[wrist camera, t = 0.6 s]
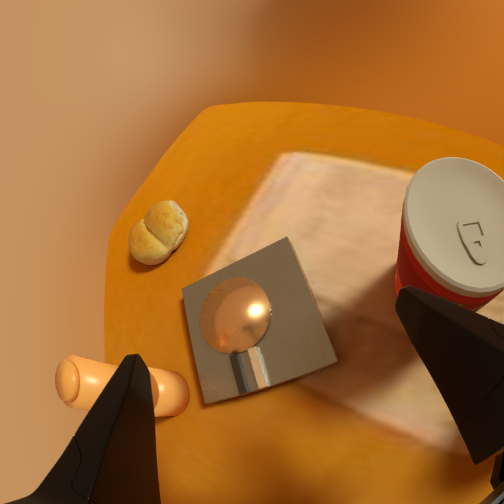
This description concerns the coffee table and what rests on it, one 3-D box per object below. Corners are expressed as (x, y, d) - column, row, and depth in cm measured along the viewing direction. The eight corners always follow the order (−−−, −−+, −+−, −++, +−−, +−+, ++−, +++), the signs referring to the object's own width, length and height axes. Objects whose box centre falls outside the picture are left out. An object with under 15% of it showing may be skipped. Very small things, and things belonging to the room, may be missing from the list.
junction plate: (339, 361, 20) (336, 360, 18) (213, 403, 22) (202, 403, 21) (291, 243, 26) (285, 234, 25) (190, 293, 29) (179, 287, 27)
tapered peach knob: (194, 412, 23) (83, 411, 13) (158, 418, 24) (53, 413, 14) (184, 365, 25) (77, 341, 15) (150, 375, 27) (50, 354, 16)
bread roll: (134, 242, 38) (115, 229, 35) (177, 200, 37) (160, 184, 34) (148, 281, 33) (125, 269, 30) (199, 234, 33) (179, 217, 29)
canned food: (412, 348, 18) (448, 322, 9) (379, 263, 22) (375, 181, 13) (486, 308, 16) (550, 252, 7) (448, 230, 20) (474, 141, 11)
